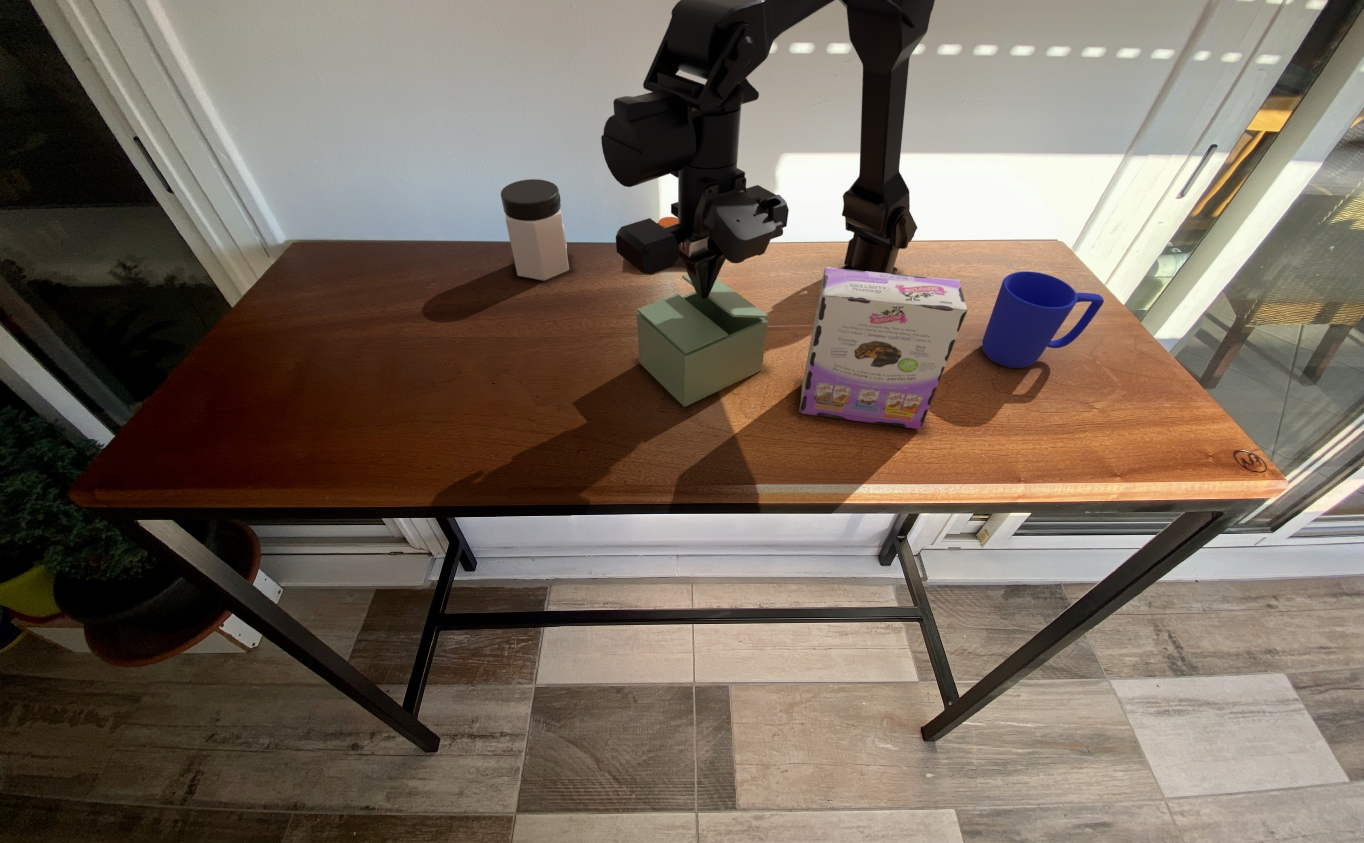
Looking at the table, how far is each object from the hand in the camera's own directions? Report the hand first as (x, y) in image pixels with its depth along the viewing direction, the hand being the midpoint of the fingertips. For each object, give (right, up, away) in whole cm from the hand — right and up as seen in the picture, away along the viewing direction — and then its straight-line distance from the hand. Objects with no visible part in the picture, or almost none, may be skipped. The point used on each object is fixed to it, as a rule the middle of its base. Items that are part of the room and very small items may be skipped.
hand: (702, 296), depth 68 cm
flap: (+3, 0, +2) cm, 3 cm away
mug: (+42, -6, +9) cm, 43 cm away
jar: (-24, +10, +25) cm, 36 cm away
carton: (0, -7, +7) cm, 10 cm away
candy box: (+19, -13, +2) cm, 23 cm away
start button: (-4, +15, +25) cm, 29 cm away
